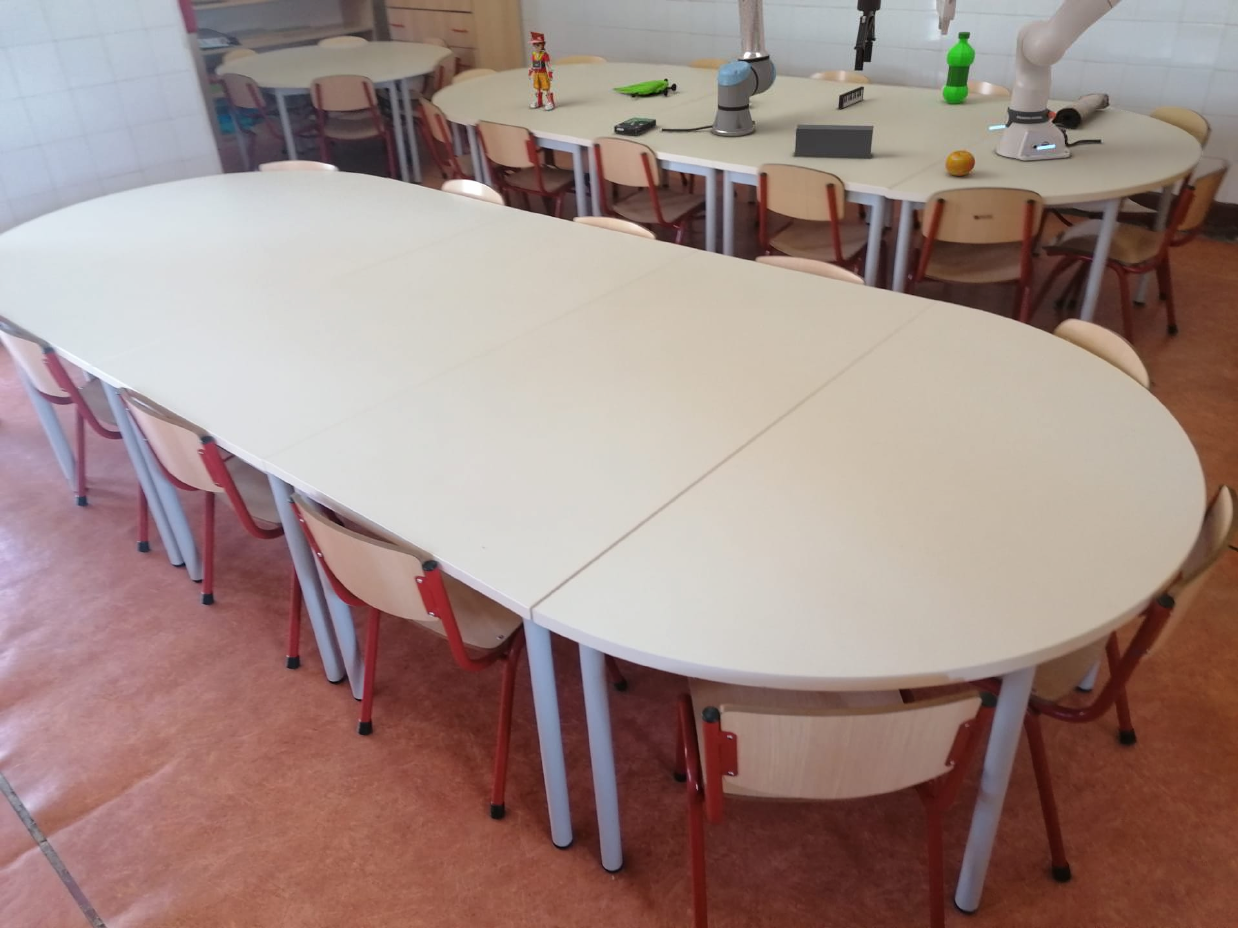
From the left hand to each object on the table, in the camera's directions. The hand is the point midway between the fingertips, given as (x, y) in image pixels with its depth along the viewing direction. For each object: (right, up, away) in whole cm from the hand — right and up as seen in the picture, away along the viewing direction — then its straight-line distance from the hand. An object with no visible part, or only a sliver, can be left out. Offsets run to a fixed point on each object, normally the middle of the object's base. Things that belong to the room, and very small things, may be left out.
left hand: (862, 66), depth 306 cm
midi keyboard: (+10, +9, +54) cm, 56 cm away
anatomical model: (-35, +12, +63) cm, 73 cm away
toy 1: (-116, +16, +77) cm, 140 cm away
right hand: (+17, -1, -27) cm, 32 cm away
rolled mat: (+85, -10, +20) cm, 88 cm away
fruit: (+23, -45, -25) cm, 56 cm away
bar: (-11, -31, -1) cm, 32 cm away
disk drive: (-77, -8, +39) cm, 87 cm away
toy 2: (-74, +29, +91) cm, 120 cm away
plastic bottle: (+49, +7, +48) cm, 70 cm away
